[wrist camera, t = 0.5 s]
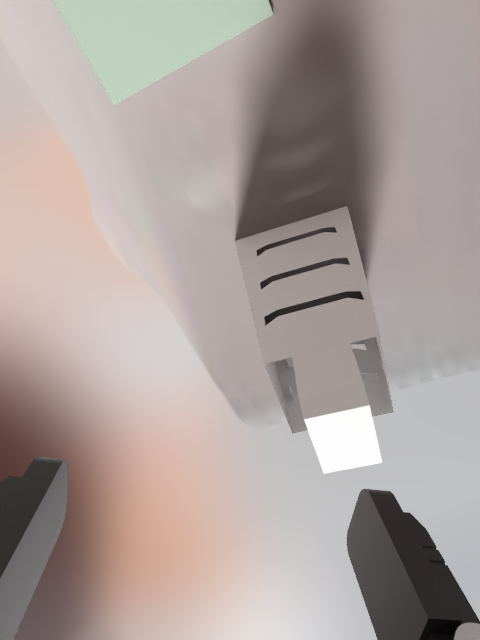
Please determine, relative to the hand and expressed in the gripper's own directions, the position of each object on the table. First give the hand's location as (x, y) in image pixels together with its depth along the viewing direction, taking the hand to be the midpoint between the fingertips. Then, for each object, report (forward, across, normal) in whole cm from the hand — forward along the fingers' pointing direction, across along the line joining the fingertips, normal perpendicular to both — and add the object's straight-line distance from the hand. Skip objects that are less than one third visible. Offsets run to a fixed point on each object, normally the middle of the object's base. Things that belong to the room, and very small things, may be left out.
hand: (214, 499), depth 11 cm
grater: (+31, -8, -1) cm, 32 cm away
